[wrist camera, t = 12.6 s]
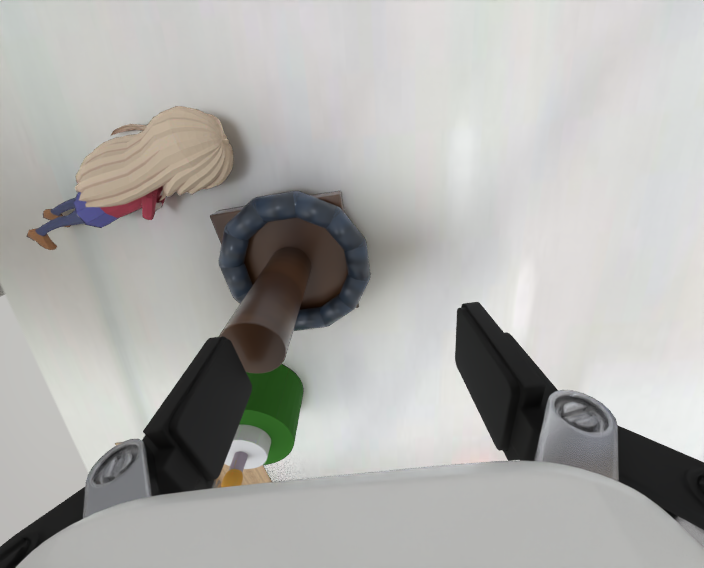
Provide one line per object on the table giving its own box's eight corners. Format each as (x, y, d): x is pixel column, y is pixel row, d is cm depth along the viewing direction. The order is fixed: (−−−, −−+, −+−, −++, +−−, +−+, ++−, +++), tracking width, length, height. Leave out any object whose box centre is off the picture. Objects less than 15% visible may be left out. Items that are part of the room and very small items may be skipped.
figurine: (54, 275, 18) (244, 201, 15) (-42, 234, 14) (179, 125, 11) (91, 216, 21) (253, 145, 18) (19, 171, 18) (204, 73, 15)
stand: (258, 311, 23) (199, 423, 14) (218, 210, 19) (97, 274, 10) (358, 298, 23) (365, 404, 14) (340, 190, 19) (332, 238, 9)
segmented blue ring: (253, 328, 22) (247, 340, 21) (202, 204, 18) (189, 210, 16) (375, 312, 22) (377, 324, 20) (357, 179, 17) (358, 182, 15)
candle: (255, 346, 25) (205, 455, 16) (319, 388, 28) (305, 501, 19) (208, 387, 28) (143, 501, 19) (271, 423, 31) (239, 535, 22)
